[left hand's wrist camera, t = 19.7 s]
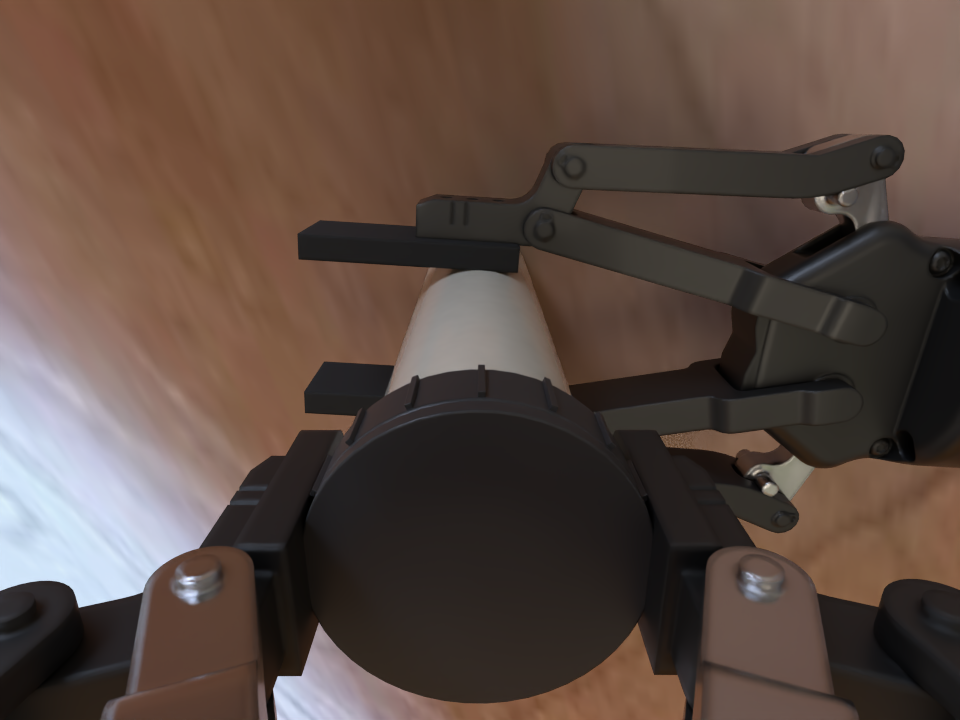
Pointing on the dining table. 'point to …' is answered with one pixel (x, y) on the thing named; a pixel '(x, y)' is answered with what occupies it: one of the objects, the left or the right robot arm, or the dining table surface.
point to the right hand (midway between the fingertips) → (314, 315)
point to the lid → (478, 538)
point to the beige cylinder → (478, 328)
